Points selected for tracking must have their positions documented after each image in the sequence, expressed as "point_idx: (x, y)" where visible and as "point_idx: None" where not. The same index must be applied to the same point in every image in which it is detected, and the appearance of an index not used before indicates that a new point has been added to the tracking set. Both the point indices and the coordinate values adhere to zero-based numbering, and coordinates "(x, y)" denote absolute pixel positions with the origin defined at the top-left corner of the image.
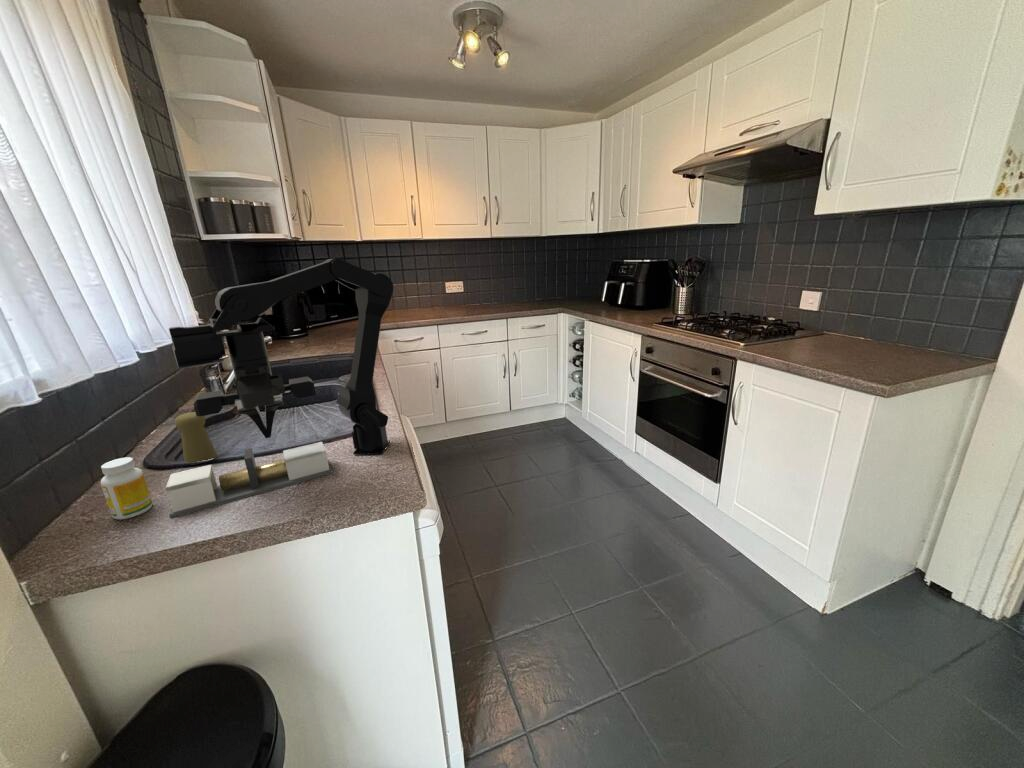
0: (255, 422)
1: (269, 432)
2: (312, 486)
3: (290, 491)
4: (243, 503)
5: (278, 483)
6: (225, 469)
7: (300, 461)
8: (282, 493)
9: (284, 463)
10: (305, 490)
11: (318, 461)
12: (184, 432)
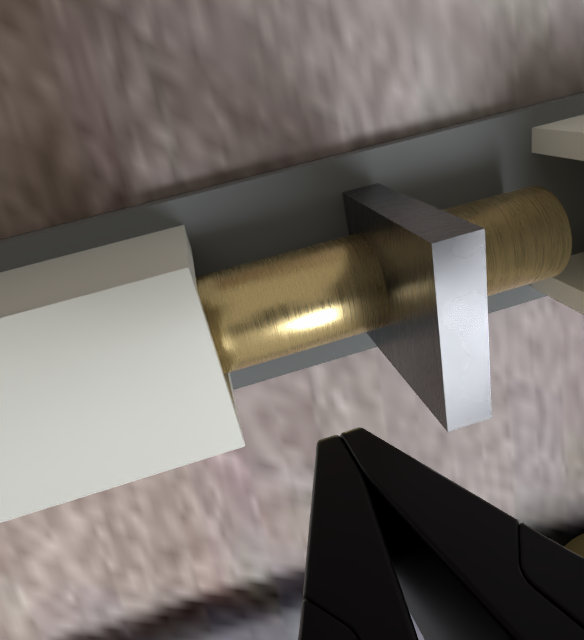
0: (558, 549)
1: (333, 472)
2: (14, 113)
3: (153, 101)
4: (397, 63)
5: (242, 208)
6: (507, 469)
7: (85, 282)
8: (198, 95)
9: (213, 311)
10: (49, 70)
11: None
12: None
